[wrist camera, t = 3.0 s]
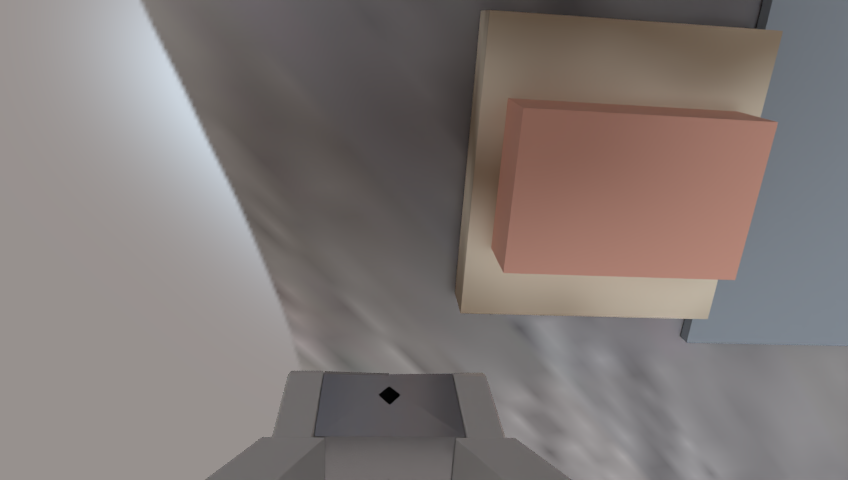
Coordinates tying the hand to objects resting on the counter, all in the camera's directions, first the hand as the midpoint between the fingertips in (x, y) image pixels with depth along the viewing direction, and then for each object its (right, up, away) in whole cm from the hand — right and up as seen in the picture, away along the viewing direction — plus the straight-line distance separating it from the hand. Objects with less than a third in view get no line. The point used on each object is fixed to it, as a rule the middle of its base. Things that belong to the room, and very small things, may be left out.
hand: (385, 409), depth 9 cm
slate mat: (+19, +5, +17) cm, 26 cm away
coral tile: (+8, +5, +14) cm, 17 cm away
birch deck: (+8, +6, +16) cm, 19 cm away
